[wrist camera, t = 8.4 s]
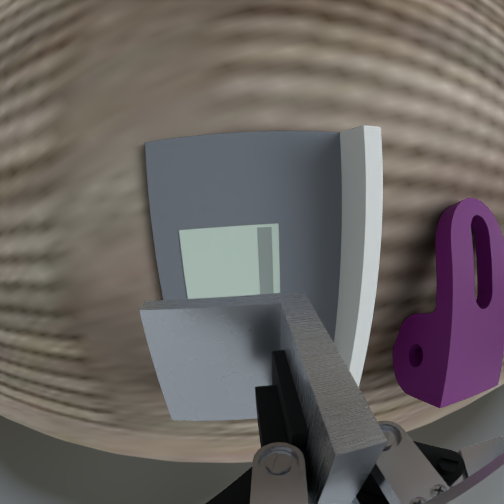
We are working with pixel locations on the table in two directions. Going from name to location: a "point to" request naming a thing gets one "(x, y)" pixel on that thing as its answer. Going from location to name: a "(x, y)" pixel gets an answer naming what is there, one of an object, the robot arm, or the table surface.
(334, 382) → the angle bracket
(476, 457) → the robot arm
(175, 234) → the tray
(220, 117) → the table surface
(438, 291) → the mounting bracket
